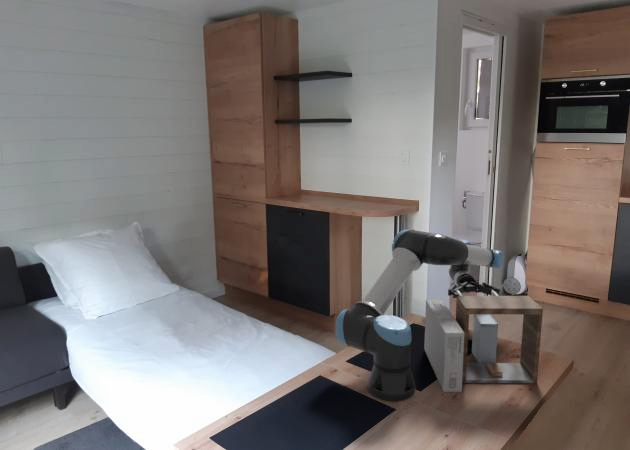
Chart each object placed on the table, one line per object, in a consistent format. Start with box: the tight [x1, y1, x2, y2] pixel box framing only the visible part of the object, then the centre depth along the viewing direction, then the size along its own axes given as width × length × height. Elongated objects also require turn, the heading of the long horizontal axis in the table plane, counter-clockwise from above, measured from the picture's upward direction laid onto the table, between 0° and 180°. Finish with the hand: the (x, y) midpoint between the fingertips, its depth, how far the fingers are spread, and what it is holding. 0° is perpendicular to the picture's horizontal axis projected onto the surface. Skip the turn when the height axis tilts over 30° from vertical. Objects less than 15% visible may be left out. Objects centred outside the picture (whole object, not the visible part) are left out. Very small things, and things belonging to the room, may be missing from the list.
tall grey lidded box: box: [471, 314, 499, 363], centre depth 178 cm, size 6×9×15 cm, turn 178°
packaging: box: [423, 299, 464, 393], centre depth 170 cm, size 30×6×20 cm, turn 179°
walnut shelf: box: [455, 295, 544, 384], centre depth 165 cm, size 24×12×26 cm, turn 88°
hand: (479, 299), depth 188 cm, fingers open, 13 cm apart
